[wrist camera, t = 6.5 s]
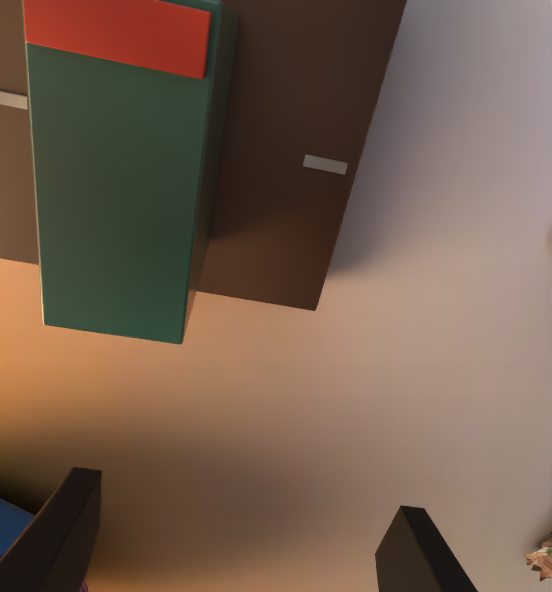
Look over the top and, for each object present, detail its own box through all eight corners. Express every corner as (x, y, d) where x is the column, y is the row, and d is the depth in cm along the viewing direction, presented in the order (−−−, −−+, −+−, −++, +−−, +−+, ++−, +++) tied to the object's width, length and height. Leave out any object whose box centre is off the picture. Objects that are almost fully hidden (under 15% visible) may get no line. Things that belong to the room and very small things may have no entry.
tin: (209, 244, 16) (181, 352, 11) (115, 228, 16) (37, 331, 10) (240, 13, 13) (221, -1, 7) (121, -14, 12) (8, -51, 7)
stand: (395, -27, 14) (420, -38, 12) (309, 283, 20) (315, 316, 17) (-9, -133, 13) (-69, -169, 11) (19, 232, 18) (-17, 261, 16)
